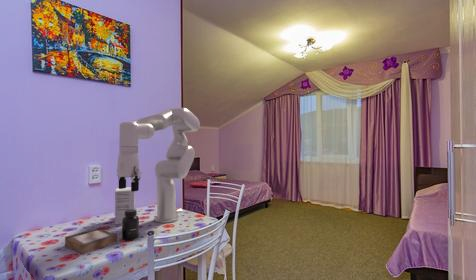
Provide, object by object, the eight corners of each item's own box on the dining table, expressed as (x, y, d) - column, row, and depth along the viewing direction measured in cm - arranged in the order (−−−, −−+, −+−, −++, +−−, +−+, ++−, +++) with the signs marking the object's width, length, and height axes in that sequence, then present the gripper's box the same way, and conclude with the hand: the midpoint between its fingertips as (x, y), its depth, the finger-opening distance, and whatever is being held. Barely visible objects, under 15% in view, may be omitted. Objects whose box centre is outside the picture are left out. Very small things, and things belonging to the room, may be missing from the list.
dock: (100, 235, 116) (100, 227, 116) (117, 242, 108) (117, 233, 108) (65, 245, 104) (65, 236, 104) (81, 254, 96) (81, 245, 96)
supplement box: (116, 219, 139) (116, 187, 139) (134, 217, 142) (134, 186, 142) (114, 224, 130) (114, 191, 130) (134, 222, 133) (134, 189, 133)
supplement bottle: (132, 241, 108) (132, 213, 108) (118, 240, 110) (118, 212, 110) (142, 235, 115) (142, 208, 115) (128, 234, 116) (128, 208, 116)
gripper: (110, 150, 115) (109, 188, 115) (132, 151, 105) (131, 193, 104) (125, 149, 121) (125, 186, 121) (148, 150, 111) (147, 190, 111)
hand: (128, 189), depth 113 cm, fingers open, 9 cm apart
